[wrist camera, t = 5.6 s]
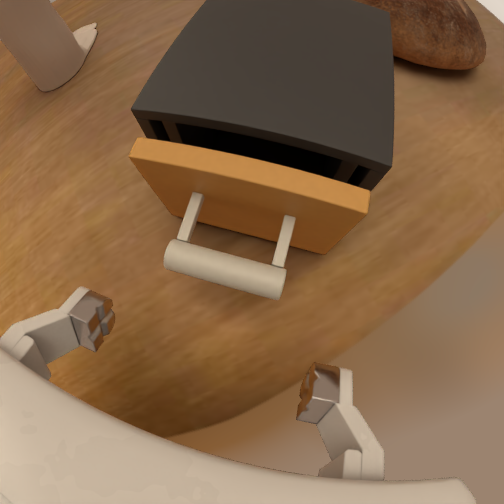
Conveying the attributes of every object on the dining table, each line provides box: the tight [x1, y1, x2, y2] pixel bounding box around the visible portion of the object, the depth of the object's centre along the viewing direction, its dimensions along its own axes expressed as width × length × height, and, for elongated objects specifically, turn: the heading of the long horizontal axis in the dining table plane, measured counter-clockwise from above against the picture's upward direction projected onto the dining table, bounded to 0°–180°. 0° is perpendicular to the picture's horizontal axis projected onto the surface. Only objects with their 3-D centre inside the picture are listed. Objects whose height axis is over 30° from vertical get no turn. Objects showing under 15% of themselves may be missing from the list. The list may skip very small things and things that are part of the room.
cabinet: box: [131, 0, 394, 192], centre depth 19 cm, size 15×13×11 cm
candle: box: [0, 0, 97, 91], centre depth 18 cm, size 7×14×20 cm, turn 179°
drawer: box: [129, 121, 370, 300], centre depth 18 cm, size 18×11×9 cm, turn 165°
